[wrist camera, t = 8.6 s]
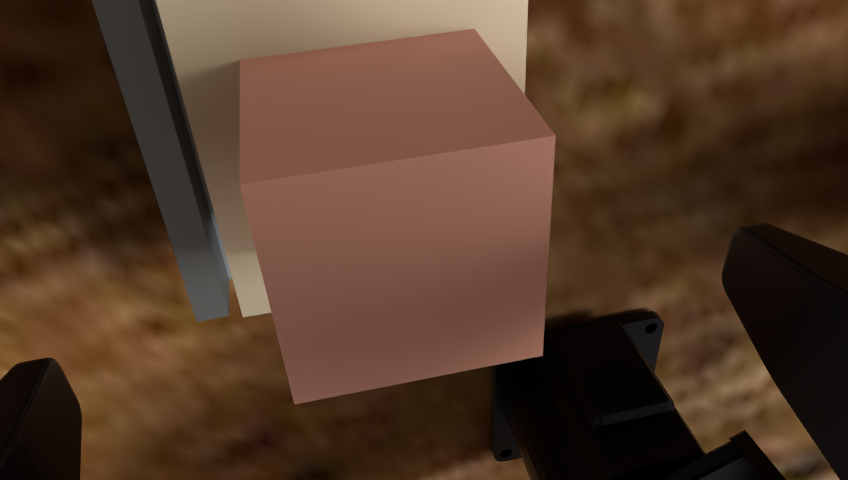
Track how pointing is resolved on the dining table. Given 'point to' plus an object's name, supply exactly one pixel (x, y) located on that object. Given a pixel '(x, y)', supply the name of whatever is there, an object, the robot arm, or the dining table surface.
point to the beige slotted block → (289, 33)
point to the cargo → (396, 210)
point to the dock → (167, 148)
